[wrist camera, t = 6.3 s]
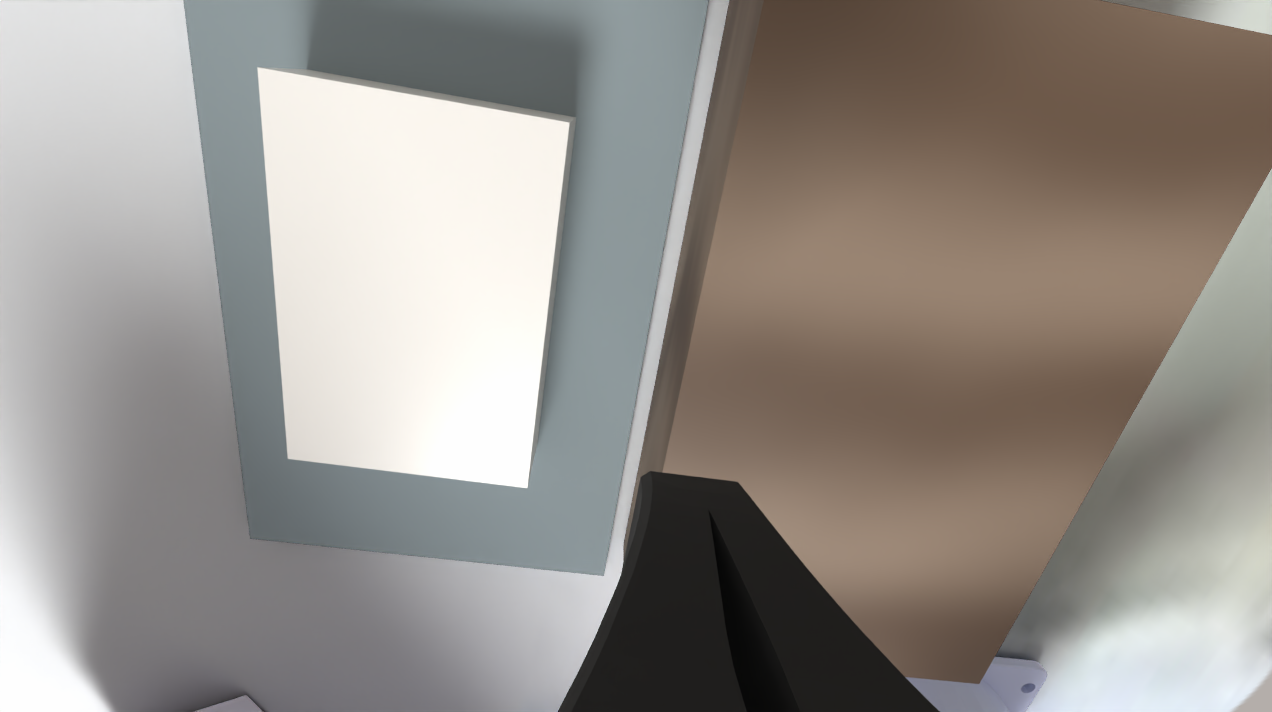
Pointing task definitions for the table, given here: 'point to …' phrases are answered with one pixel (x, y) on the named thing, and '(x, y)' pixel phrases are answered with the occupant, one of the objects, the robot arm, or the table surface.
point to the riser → (944, 282)
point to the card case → (412, 272)
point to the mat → (587, 273)
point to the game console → (234, 706)
